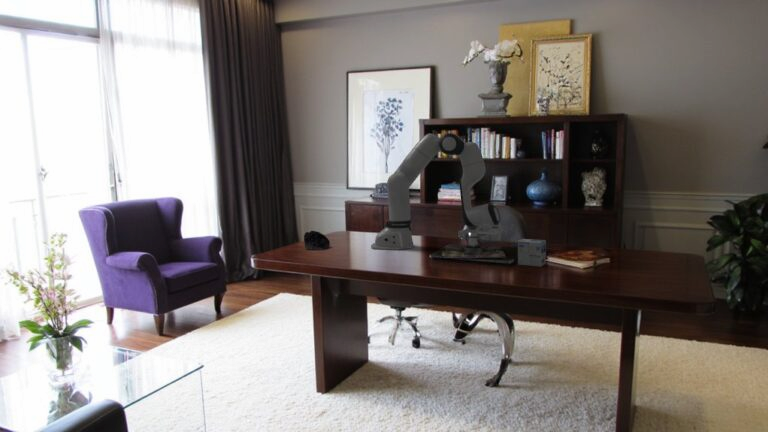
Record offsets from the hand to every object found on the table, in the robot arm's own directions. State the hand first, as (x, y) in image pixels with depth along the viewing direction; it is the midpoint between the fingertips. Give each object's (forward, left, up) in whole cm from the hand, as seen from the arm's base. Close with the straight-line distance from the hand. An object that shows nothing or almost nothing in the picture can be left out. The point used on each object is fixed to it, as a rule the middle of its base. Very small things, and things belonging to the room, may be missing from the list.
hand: (472, 237), depth 262 cm
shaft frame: (0, 0, -9) cm, 9 cm away
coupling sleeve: (0, 0, -7) cm, 8 cm away
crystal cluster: (-81, +21, -9) cm, 84 cm away
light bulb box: (+25, -16, -9) cm, 31 cm away
